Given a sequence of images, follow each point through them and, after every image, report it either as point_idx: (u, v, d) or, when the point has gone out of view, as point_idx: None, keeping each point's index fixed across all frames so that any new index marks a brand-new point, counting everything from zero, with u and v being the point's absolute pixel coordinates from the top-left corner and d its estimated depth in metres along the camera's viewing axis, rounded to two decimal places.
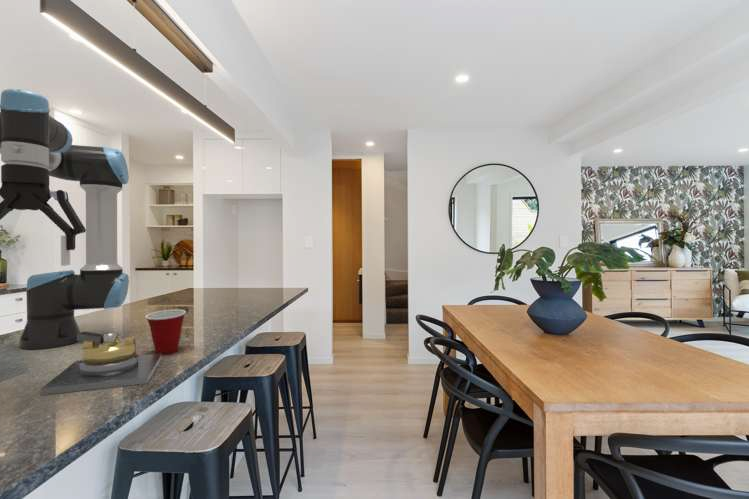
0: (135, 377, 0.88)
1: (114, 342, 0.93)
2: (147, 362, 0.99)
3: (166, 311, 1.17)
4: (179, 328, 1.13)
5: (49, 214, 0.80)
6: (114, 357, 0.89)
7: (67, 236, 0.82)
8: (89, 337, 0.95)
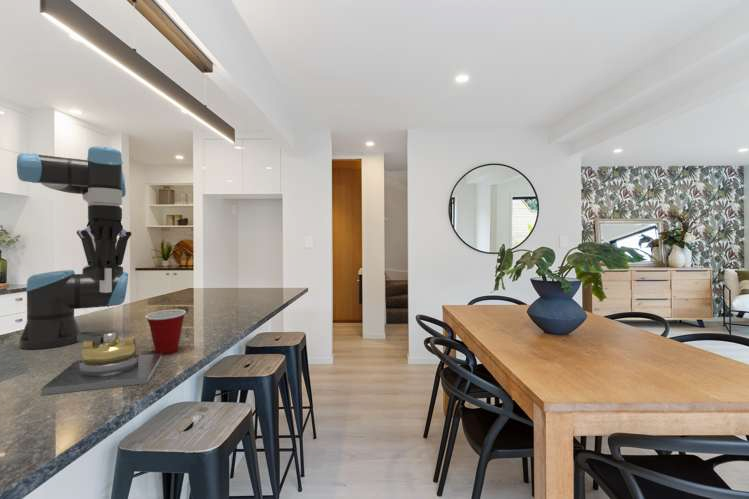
0: (135, 377, 0.88)
1: (114, 342, 0.93)
2: (147, 362, 0.99)
3: (166, 311, 1.17)
4: (179, 328, 1.13)
5: None
6: (114, 357, 0.89)
7: None
8: (89, 337, 0.95)
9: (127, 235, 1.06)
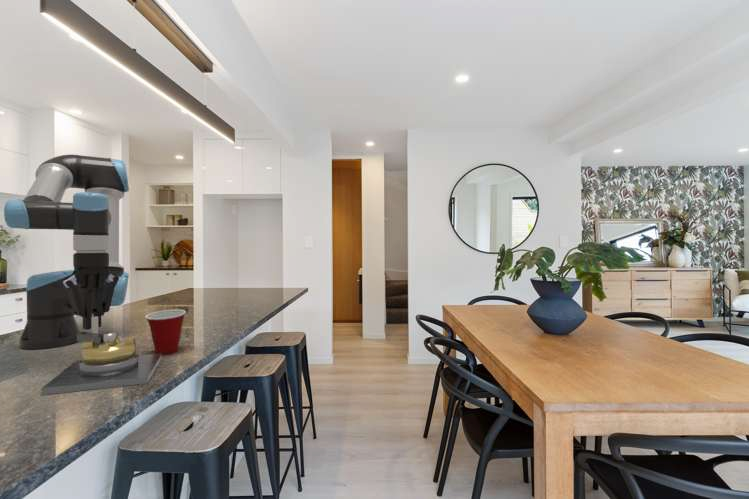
0: (135, 377, 0.88)
1: (114, 342, 0.93)
2: (147, 362, 0.99)
3: (166, 311, 1.17)
4: (179, 328, 1.13)
5: None
6: (114, 357, 0.89)
7: None
8: (89, 337, 0.95)
9: (114, 280, 1.03)
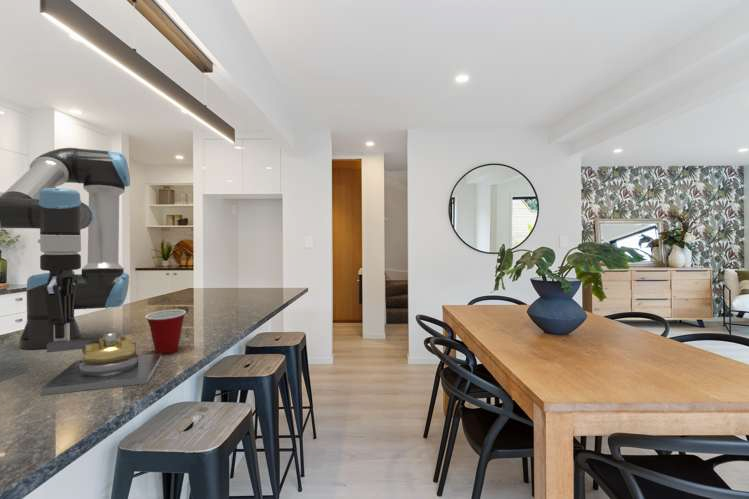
0: (135, 377, 0.88)
1: (115, 341, 0.94)
2: (147, 362, 0.99)
3: (166, 311, 1.17)
4: (179, 328, 1.13)
5: None
6: (133, 352, 0.94)
7: None
8: (76, 343, 0.89)
9: (75, 284, 0.95)
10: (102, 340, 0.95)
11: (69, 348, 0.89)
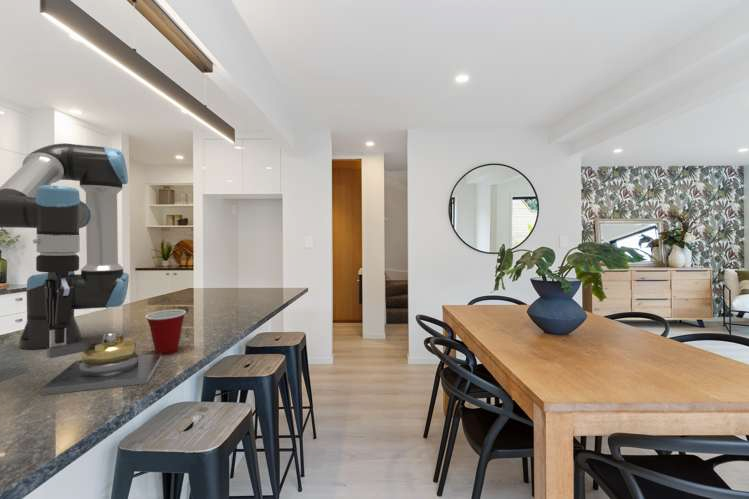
0: (135, 377, 0.88)
1: None
2: (147, 362, 0.99)
3: (166, 311, 1.17)
4: (179, 328, 1.13)
5: (52, 304, 0.84)
6: None
7: (55, 330, 0.85)
8: (80, 345, 0.87)
9: None
10: None
11: (73, 351, 0.86)
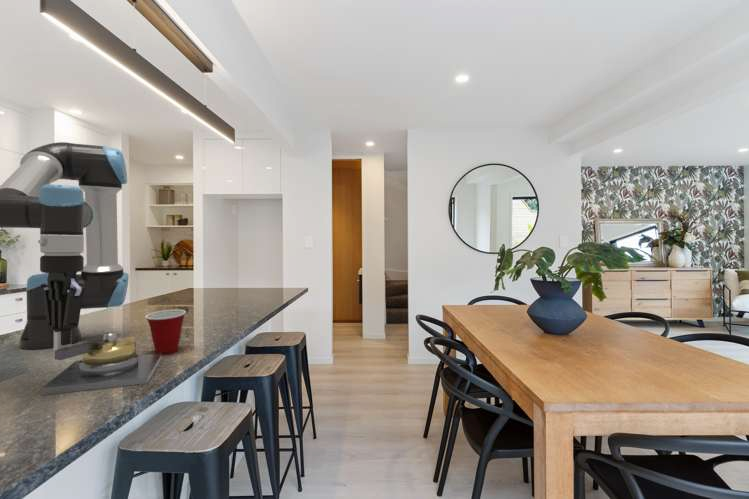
0: (135, 377, 0.88)
1: None
2: (147, 362, 0.99)
3: (166, 311, 1.17)
4: (179, 328, 1.13)
5: (59, 305, 0.82)
6: None
7: (61, 331, 0.83)
8: (87, 346, 0.87)
9: None
10: None
11: (80, 352, 0.85)
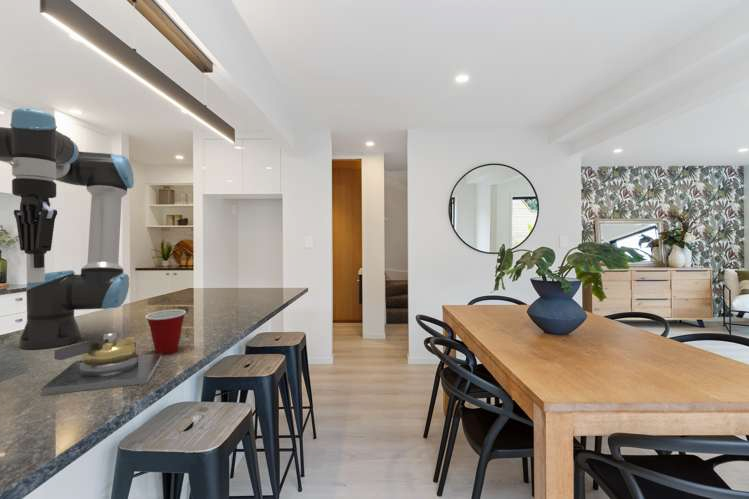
0: (135, 377, 0.88)
1: None
2: (147, 362, 0.99)
3: (166, 311, 1.17)
4: (179, 328, 1.13)
5: (31, 228, 0.84)
6: None
7: (34, 254, 0.85)
8: (87, 346, 0.87)
9: None
10: None
11: (80, 352, 0.85)
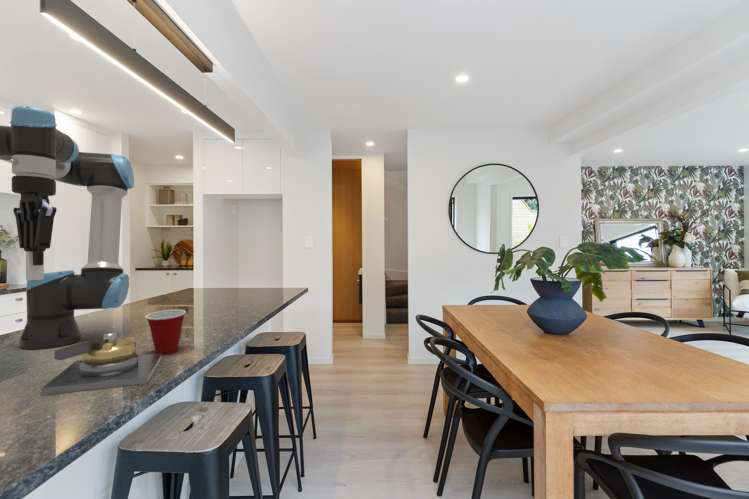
0: (135, 377, 0.88)
1: None
2: (147, 362, 0.99)
3: (166, 311, 1.17)
4: (179, 328, 1.13)
5: (31, 226, 0.84)
6: None
7: (33, 252, 0.85)
8: (87, 346, 0.87)
9: None
10: None
11: (80, 352, 0.85)
